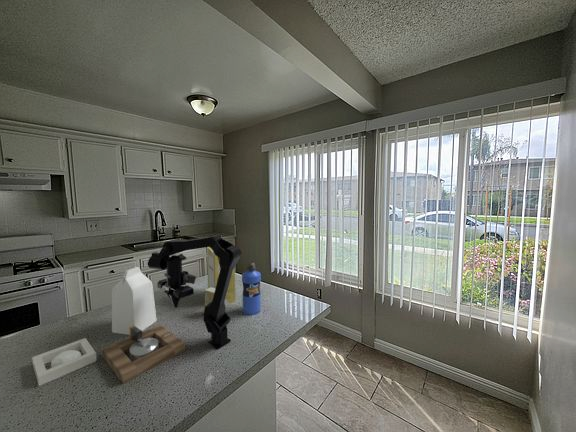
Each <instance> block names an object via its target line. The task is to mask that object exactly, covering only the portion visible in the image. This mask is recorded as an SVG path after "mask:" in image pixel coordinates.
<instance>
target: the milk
mask: <svg viewBox="0 0 576 432" xmlns="http://www.w3.org/2000/svg"><path fill="white" fill-rule="evenodd" d="M155 304H156V303H155V294H154V287H153V282H152V281H151V280H150V278H148V277H147V276H146V275H145V274H144V273H143V272H142V270H141V269H140V267H139V266H136V267H133V268H130V269H127V270H125V271H124V273H123V276H122V278H121V279H120V280H119V282H118V283H117V284H115V286H113V287H112V290H111V333H113V334H122V335H126V336H130V329H129V327H131V326H135V327H137V328H138V329H140V330H142V332H144V330H146V329H147V328H148V327H150V326H151V325H152V324H155V323H156V322H157V321H158V320H157V312H156V305H155Z"/></svg>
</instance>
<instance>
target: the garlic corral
mask: <svg viewBox="0 0 576 432" xmlns="http://www.w3.org/2000/svg"><path fill="white" fill-rule="evenodd" d="M68 350H76V351H79V352H80V353H81V356H80V357H77V358H75V359H72V360H70V361H68V362H65V363H63V364H60V365H58V366H55V367H53V368H52V367H50V368H49V369H47V368H46V364H48V363H51V361H52V360H53V359H54V358H55V357H56V356H57V355H59V354H60V353H62V352H64V351H68ZM31 360H32V368H33V371H34V374H35V378H36V381H37V386H38V387H40V386H42V385H45V384H48V383H49V382H51V381H52V382H53V381H54V380H56V379H59V378H61V377H63V376H66V375H68V374H70V373H72V372H74V371H76V370H79V369H81V368H84V367H86V366H89V365H91V364H92V363H95V362H97V352H96V350H95V349H94V348H93V346H92V345H91V344H90V342H89V341H88V340H87V338H86V337H84V338H81V339H78V340H76V341H73V342H71V343H68V344H65V345H63V346H60V347H57V348H55V349H51V350H48V351H46V352H44V353H40V354H38V355H34V356H33V357H31Z"/></svg>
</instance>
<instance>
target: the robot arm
mask: <svg viewBox="0 0 576 432" xmlns="http://www.w3.org/2000/svg"><path fill="white" fill-rule="evenodd" d="M207 247H210V248H211V249H212V250H213V252H214V254H215V255H216V256H217V257H219V265H220V273H219V277H218V281H217V284H216V288H215V292H214V296H213V300H212V302H210V303H209V304H208V305H207V306H205V305H204V309H203V311H204V312H203V313H202V316H201V317H203V319H202V321H203V322H204V324H205V327H206V330H207V332H208V333H210V339H209V341H207V343H208V344H209V345H211V346H212V347H213V348H215V349H216V350H218V349H221V348H222V347H224V346H226V345H227V344H229V343H231V339H230V338H228V337H229V336H228V335H229V334H228V327H227V326H228V324H230V322H231V320H232V319H231V316H230V315H228V313H227V312H226V308H227V307H226V305H225V303H224V301H225V297H226V294H227V290H228V286H229V282H230V279H231V275H232V271H233V269H234V267H235V268H236V266H237V264H238V262H239V260H240V258H241V257H242V250H241V248H240V247H239V246H237V245H235V244H233V243H232V242H230V241H228V240H225V239H224V238H222V237H221V236H219V235H216V234H215V235H212V236H206V237H200V238H192V239H185V238H175V239H173V240H172V239H171V240H168V241H167V240H166V241H164V242H163V245H162V248H161V250H160V251H159V252H158V251H154V252H151V254H150V255H151V256H150V257H149V258H148V260H147V267H148V268H149V269H151V270H161V271H164V270H166V272H165V273H164V277H166V278H164V279H159V280H158V281H157V284H156V285H157V288H158V289H163V287H164V288H165V290H164V292H163V293H164V294H165V295H166V297H167V298H168V300H169V301H170V303H171V305H172V307H173V308H174V309H177V308H178V307H179V303H180V300H181V299H184V298H186V297H190V296H191V295H195V288H193V287H192V286H190V285H187V284H192V285H194V284H195V282H196V279H197V276H196V275H193V274H190V273H189V271H186V270H183V263H182V262H183V261H185V260H187V257H186V256H185V255H184V254H183V252H185V251H189V250H198V249H204V248H207ZM179 253H180V254H179ZM177 254H178V255H177Z"/></svg>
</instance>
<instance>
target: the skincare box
mask: <svg viewBox="0 0 576 432" xmlns="http://www.w3.org/2000/svg"><path fill="white" fill-rule="evenodd" d="M214 292H215V288H212V287H210V288H208V287H207V288H206V289H204V307H205V306H207V305H208V304H209V303H210V302H212V300H213V296H214Z"/></svg>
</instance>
